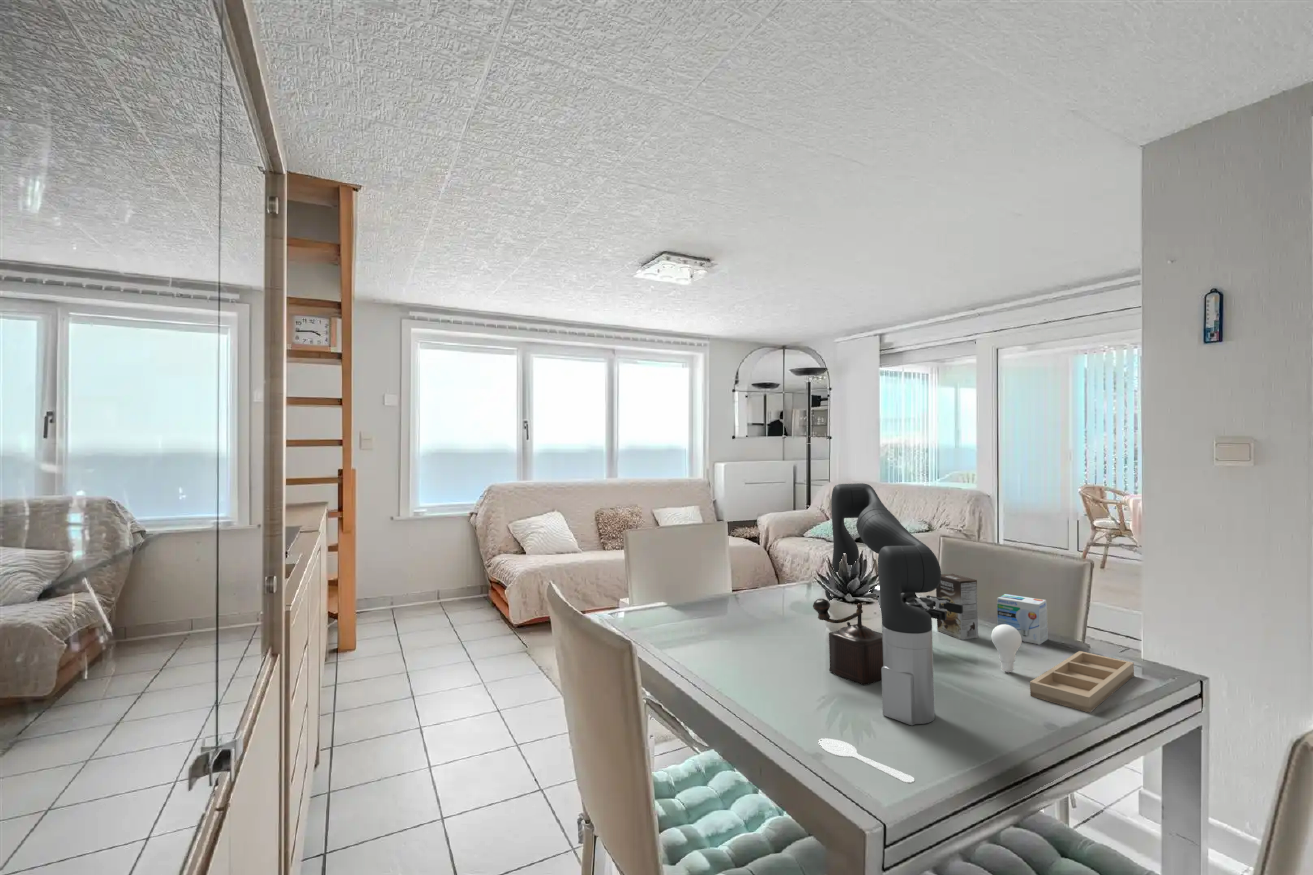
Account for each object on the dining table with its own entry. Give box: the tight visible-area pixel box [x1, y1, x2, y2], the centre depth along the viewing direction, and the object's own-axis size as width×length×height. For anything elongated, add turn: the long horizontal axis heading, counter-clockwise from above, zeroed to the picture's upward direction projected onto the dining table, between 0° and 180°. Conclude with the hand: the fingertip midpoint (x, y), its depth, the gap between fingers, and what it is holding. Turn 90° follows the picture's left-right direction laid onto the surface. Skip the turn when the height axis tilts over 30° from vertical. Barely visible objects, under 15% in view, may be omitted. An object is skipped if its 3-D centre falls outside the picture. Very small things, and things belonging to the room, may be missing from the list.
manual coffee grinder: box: [812, 598, 883, 686], centre depth 138 cm, size 16×11×18 cm
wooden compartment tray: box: [1029, 650, 1135, 713], centre depth 130 cm, size 30×10×3 cm, turn 128°
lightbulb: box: [990, 624, 1023, 673], centre depth 139 cm, size 6×6×11 cm
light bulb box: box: [996, 593, 1049, 645], centre depth 163 cm, size 11×7×11 cm, turn 42°
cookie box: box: [935, 573, 979, 641], centre depth 168 cm, size 9×6×16 cm
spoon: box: [817, 737, 915, 784], centre depth 101 cm, size 5×18×1 cm, turn 37°
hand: (954, 612), depth 148 cm, fingers open, 8 cm apart
